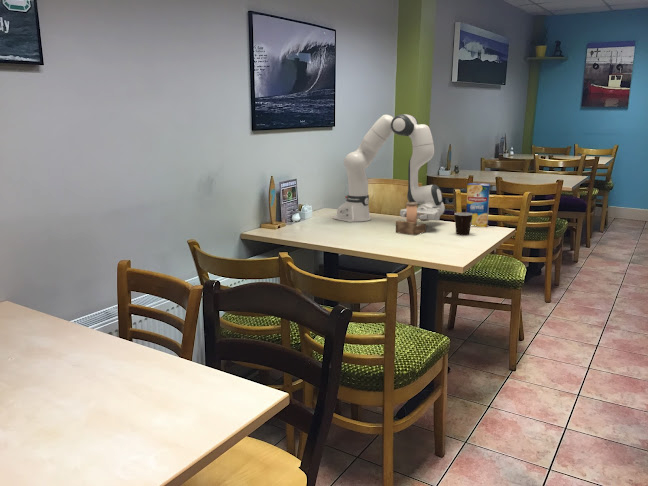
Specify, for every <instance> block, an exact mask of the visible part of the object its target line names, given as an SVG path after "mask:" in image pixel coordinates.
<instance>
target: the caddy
mask: <svg viewBox="0 0 648 486" xmlns="http://www.w3.org/2000/svg"><path fill="white" fill-rule="evenodd" d="M426 227H427V224H426V223H422V224H421V223H420V224H419V225H418V222H417V223H413V222H406V221H402V220H395V233H397V234H404V235H409V236H410V235H411V236H417V235H420V233H421V234H423V233H426V230H427V229H426Z"/></svg>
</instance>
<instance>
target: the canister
mask: <svg viewBox="0 0 648 486" xmlns="http://www.w3.org/2000/svg"><path fill="white" fill-rule="evenodd" d="M405 205H406V209H407V212H406V217H405V219H406V221H405V222H413V223H417V224H418V222H417V220H418V219H417V208H418V205H417V202H409V201H408V202H406V203H405Z"/></svg>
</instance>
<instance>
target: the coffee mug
mask: <svg viewBox="0 0 648 486" xmlns="http://www.w3.org/2000/svg"><path fill="white" fill-rule="evenodd" d="M472 215H473V214H471V213H466V212H454V224H455V234H456V235H458V236H469V235H470V232H471V227H472V226H471V221H472Z"/></svg>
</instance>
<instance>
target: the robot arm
mask: <svg viewBox="0 0 648 486" xmlns="http://www.w3.org/2000/svg"><path fill="white" fill-rule="evenodd" d="M393 134H395V135H398V136H403V137H409V138H410V140H411V147H412V154H411V157H410V158H409V160H408V168H407V169H408V170H407V171H408V172H407V173H408V176H407V177H408V179H407V180H408V181H407V182H408V183H407V184H408V187H407V194H406V197H407V201H408V202H417V220H419V221H421V222H427V221H436V222H437V221H440V217H441V216H442V215H443V214H444V213H445V210H446V208H445V207H446V206H445V204H444V202H443V192H442V189H441V188H440V187H439V186H438V185H437V184H429V185H421V186H419V170H420V168H421V167H422V166H423V165H425V164H426V163H428V162H430V161H431V159H433V157H434V155H435V145H434V138H433V135H432V132H431V128H430V127H429V126H428V125H427V124H424V123H423V124H421V123H420V124H419V121H418V119H417V118H416V117H415V116H414V115H410V114H406V113H404V114H402V113H401V114H398V115H395V116H394V117H393V116H392V115H390V114H383V115H382V116H380V117H379V118H378V119H377V120H376V121H375V122H374V123H373V124H372V126H371V127H370V129H369V130H368V131H367V133H365V135H364V136H363V138H362V140H361V142H360V144H359V146H358V147H357V149H356V150H355V151H351V152H349V153H348V154H346V156H345V158H344V160H343V165H344V167H345V171H346V175H347V180H348V195H346V196H344V197H345V199H346V201H344V202H343V203H342V204H341V205H339V207H338V208H337V209H336V215H334V216H333V217H332V219H334V220H338V221H341V222H347V223H351V222H352V223H354V222H367V221H371V220H372V217H371V214H370V207H369V205H370V204H369V202H370V195H369V180H368V178H367V174H366V169H367V168H368V167H369V166H370V165H371V163H373V161H374V159H375V158H376V156H377V154H378V153H379V151H380V150H381V148H382V147H383V146H384V145H385V143H386V142H387V141H388V139H389V138H390V137H391V136H392V135H393ZM406 212H407V208H403V209H400V211H399V216H400V217H402V218H406Z"/></svg>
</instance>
